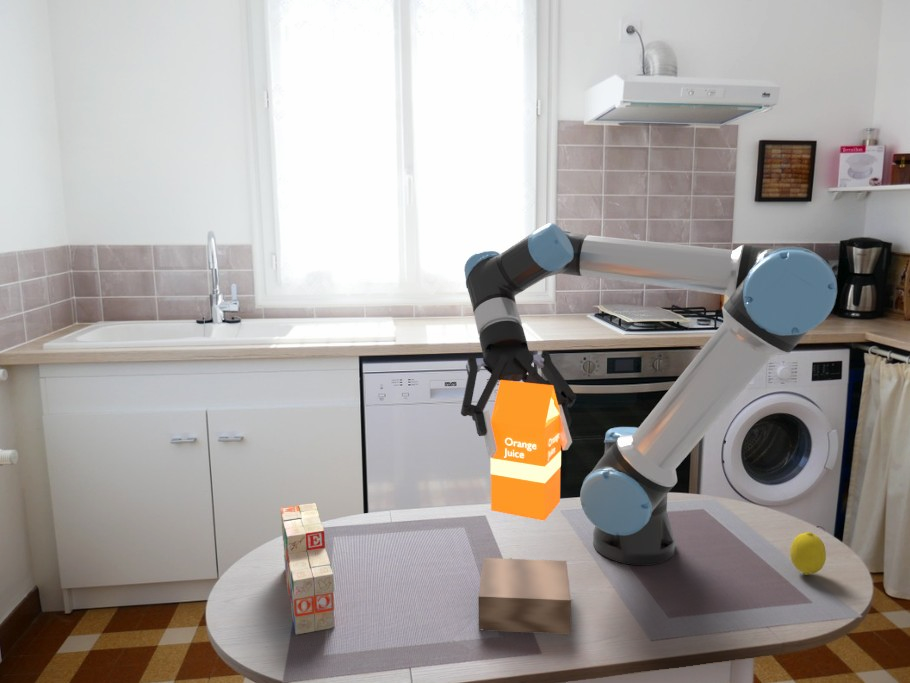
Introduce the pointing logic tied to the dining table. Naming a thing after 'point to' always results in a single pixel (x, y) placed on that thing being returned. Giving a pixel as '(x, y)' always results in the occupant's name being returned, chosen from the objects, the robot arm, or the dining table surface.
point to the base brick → (524, 596)
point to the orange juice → (526, 450)
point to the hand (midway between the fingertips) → (530, 449)
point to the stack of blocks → (307, 569)
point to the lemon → (808, 553)
